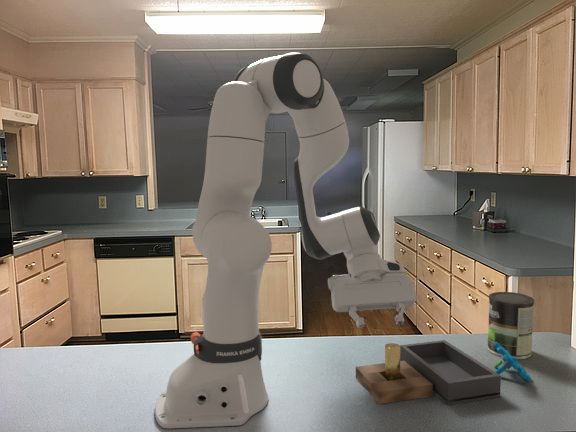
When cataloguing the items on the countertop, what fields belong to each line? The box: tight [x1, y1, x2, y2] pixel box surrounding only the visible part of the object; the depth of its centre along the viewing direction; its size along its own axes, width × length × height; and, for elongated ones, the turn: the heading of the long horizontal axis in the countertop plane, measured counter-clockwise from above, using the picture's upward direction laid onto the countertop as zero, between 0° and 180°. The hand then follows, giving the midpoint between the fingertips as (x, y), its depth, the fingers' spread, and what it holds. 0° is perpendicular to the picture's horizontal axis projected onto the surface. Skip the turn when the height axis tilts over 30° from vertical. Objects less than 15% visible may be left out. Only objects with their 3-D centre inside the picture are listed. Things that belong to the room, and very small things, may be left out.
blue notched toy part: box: [493, 342, 532, 382], centre depth 101 cm, size 11×6×10 cm
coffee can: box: [487, 291, 535, 360], centre depth 114 cm, size 10×10×14 cm
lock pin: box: [384, 342, 401, 381], centre depth 97 cm, size 3×3×9 cm
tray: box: [399, 339, 502, 406], centre depth 100 cm, size 12×20×4 cm, turn 14°
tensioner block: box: [355, 361, 434, 405], centre depth 97 cm, size 12×12×2 cm
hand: (381, 324), depth 103 cm, fingers open, 8 cm apart
